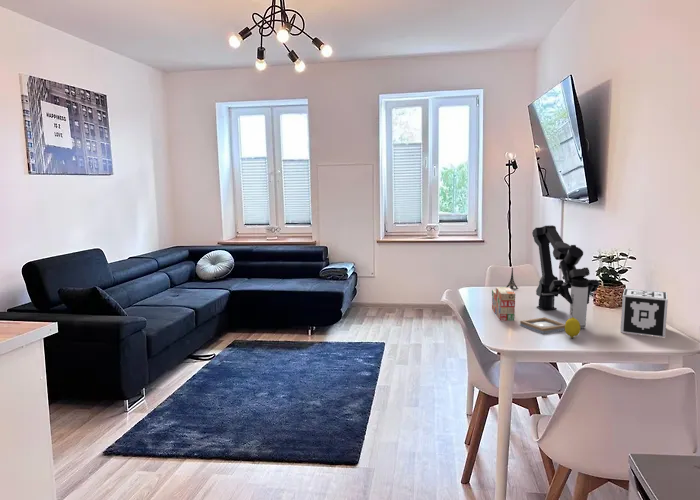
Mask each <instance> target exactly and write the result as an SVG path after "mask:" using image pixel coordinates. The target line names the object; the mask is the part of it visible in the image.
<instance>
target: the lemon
mask: <svg viewBox="0 0 700 500" xmlns="http://www.w3.org/2000/svg"><path fill="white" fill-rule="evenodd" d="M564 324H565V330H564V332H565V334H566V335H568V336H569V337H570V338H571V339H572V338H573V339H574V338H575V337H577V336H578V335H579V334H580V333H581V328H580V323H579V321H578V320H577V319H575V318H574V317H572V318H570V319H569V318H568V319H567V320H566V321H565V323H564Z"/></svg>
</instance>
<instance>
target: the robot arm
mask: <svg viewBox="0 0 700 500" xmlns="http://www.w3.org/2000/svg"><path fill="white" fill-rule="evenodd" d="M556 227H557V226H555V225H551V224H550V225H542V226H541V227H535V228H534V229H533V230H532V237H533V241H534V243H535V244H536V245H537V247H538V253H539V259H540V260H539V261H540V269H541V277H540V279H539V281H538V286H537V288H536V290H535V294H536V296H538V297H539V298H538V305H537V306H536V308H538V309H540V310H544V311H551V310H557V307H555V298H556V297H557V298H558V297H559V295H560V296H561V297H562V298H564V300H566V302H567V303H569V305H570V304H572V299H571V292H570V291H569V289H571V284H572V278H577V277H584V278H586V277H588V276H590V269H589V267H582V268H577V267H576V265H578V264H579V262H580V260H581V259H582V257H583V255H584V251H583V249H582V248H581V247H578V246H577V244H569V243H566V242H565V241H564V240H563V239H562V237H561V235H560V234H559V233H558V231H557V228H556ZM550 245H551V246H552V249H553V250H552V254H553V255H551V249H550V248H551V247H550ZM551 256H553V257H554V259H555V260H556V261H560V262H559V264H558V265H559V266H558V269H560V270H561V272H562V276H561V277H562V279H559V278H558V277H557V276H555V274H554V272H553V271H554V270H553V266H552V263H553V262H552V257H551ZM600 285H601V284H600V281H599V280H598V279H588V297H587V305H589V303H590V297H591V295H590V294H591V293H595V292H596V291H597V289H598V288H599V287H600Z"/></svg>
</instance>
